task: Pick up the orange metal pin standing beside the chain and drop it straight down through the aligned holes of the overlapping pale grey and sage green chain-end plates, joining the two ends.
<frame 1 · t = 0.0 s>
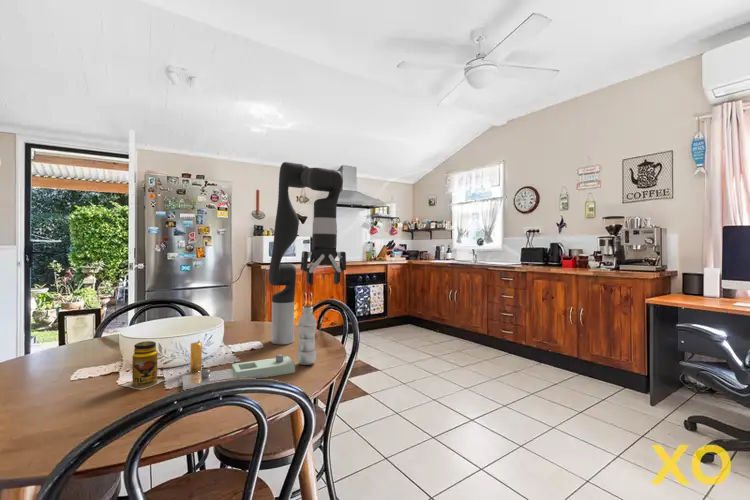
hand: (323, 284, 110), 29 cm above the table, tool pointing down, fingers open, 8 cm apart
plastic bottle: (306, 364, 123), on the table
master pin: (195, 371, 113), on the table
lower chain end: (247, 375, 111), on the table
condiment: (143, 384, 103), on the table
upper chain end: (247, 375, 111), on the table
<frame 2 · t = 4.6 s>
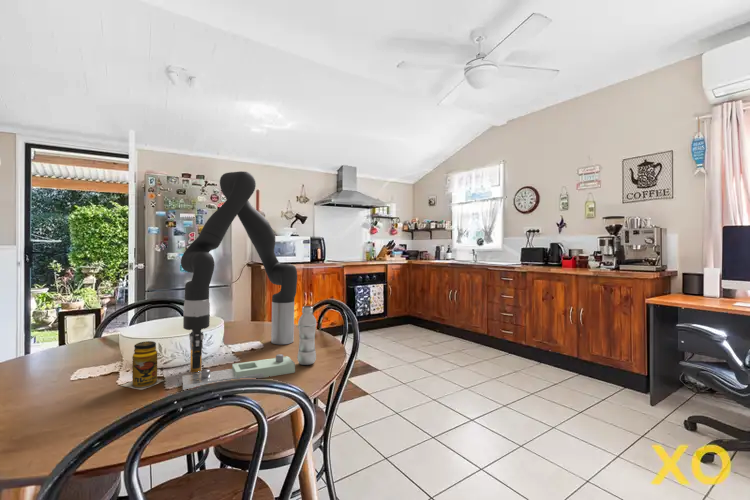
hand: (195, 366, 113), 2 cm above the table, tool pointing down, fingers closed on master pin, 3 cm apart
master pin: (195, 371, 113), on the table, touching gripper
everything else where it was.
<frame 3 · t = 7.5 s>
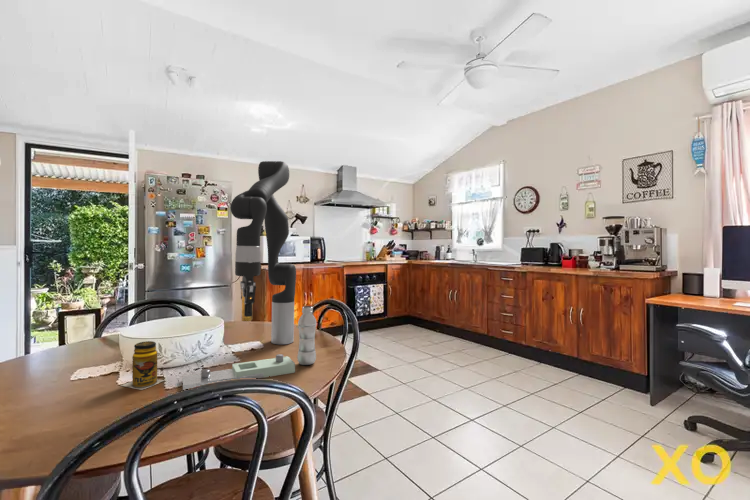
hand: (247, 314, 111), 19 cm above the table, tool pointing down, fingers closed on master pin, 3 cm apart
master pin: (246, 320, 111), point 17 cm above the table, touching gripper
everything else where it was.
when the fingers open (4 cm above the table, at t = 10.6 s): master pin drops 2 cm, resting in lower chain end.
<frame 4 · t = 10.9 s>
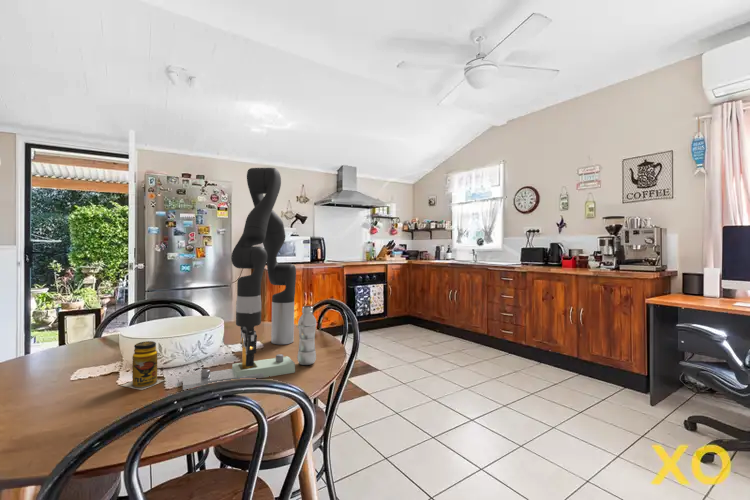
hand: (247, 362, 111), 4 cm above the table, tool pointing down, fingers open, 6 cm apart
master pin: (247, 375, 111), resting in lower chain end
everything else where it was.
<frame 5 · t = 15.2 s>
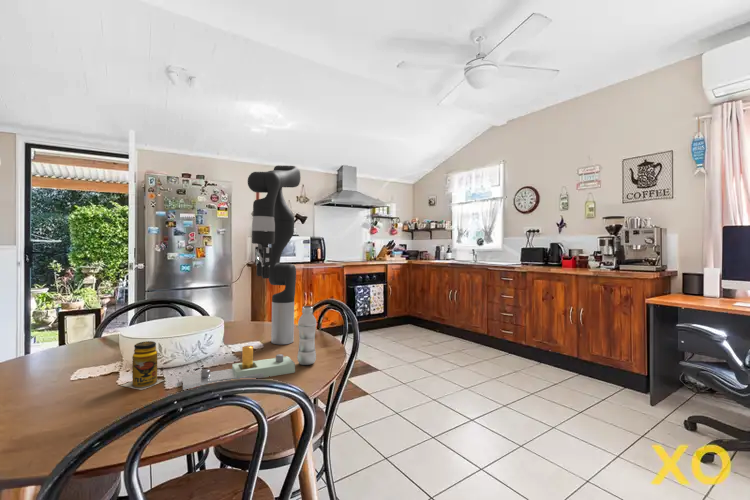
hand: (262, 277, 121), 30 cm above the table, tool pointing down, fingers open, 8 cm apart
nothing on the table moved.
at the end: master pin 0.1 cm off-centre on the lower chain end, point 0.0 cm above the lower chain end's base; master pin tilted 0°; the gripper is holding nothing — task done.
